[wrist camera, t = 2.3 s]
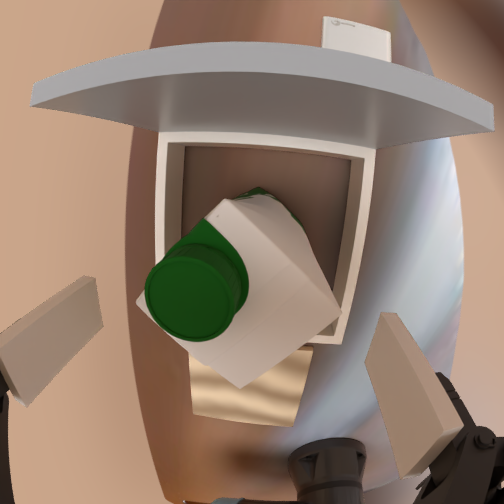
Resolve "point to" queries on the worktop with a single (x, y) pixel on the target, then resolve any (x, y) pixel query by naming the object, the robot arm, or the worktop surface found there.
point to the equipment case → (269, 118)
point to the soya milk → (241, 288)
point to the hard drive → (355, 38)
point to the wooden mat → (252, 392)
